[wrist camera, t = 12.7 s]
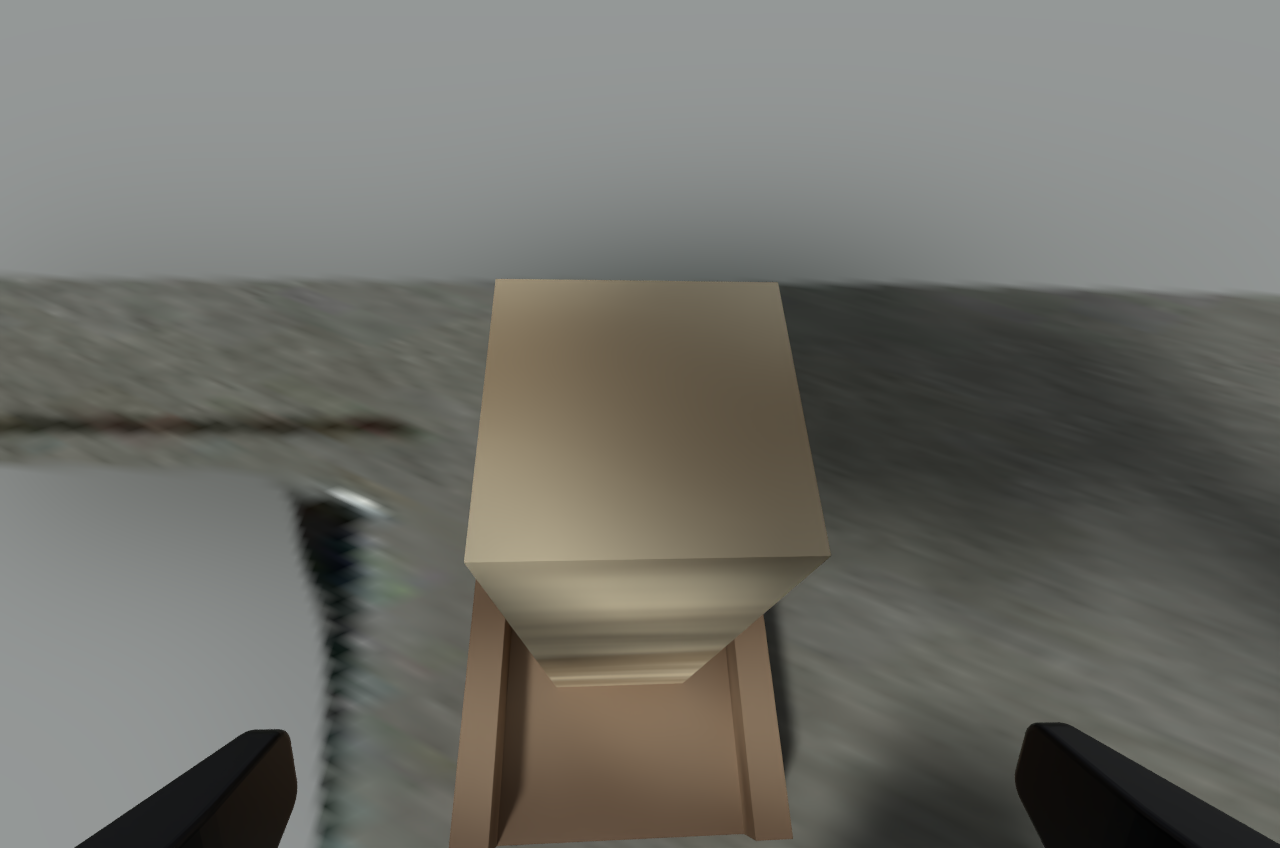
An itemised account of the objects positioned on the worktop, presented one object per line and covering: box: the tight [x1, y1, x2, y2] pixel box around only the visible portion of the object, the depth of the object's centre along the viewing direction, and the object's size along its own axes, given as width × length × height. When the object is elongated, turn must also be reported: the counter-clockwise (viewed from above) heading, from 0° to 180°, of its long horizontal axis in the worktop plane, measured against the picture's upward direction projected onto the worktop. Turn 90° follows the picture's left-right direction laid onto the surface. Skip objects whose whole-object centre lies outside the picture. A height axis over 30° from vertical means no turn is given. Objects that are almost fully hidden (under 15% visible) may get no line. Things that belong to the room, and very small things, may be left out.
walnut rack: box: [449, 579, 793, 848], centre depth 19 cm, size 12×9×2 cm
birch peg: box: [464, 279, 831, 687], centre depth 13 cm, size 4×4×14 cm
